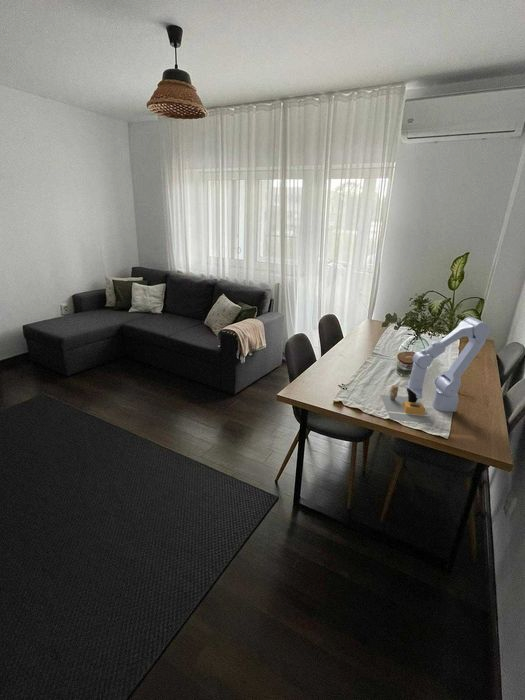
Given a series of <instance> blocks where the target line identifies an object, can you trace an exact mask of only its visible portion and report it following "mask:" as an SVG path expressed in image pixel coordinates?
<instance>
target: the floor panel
mask: <svg viewBox="0 0 525 700" xmlns="http://www.w3.org/2000/svg"><path fill="white" fill-rule="evenodd" d="M379 397H380V398H381V400H382V402H383V405H384V407H385V410H386V413H387V415H388V416H389V419H390V420H392V421H403V422H414V423H415V422H416V423H423V424H424V423H425V424H433V425H434V421H433V420H432V418H431V417H430V415H429V413H428V411H427V410H426V409H425V412H424V415H423V414H412V413H405V411H404V409H403V407H402V406H403V402H404V401H405V402H408V396H400V395H399V396H398V395H397V397H395V401H392V400H390V397H391V396H390V394H380V395H379ZM416 403H422V402H421V401H420V399H419V398H418V399H417V401H416Z"/></svg>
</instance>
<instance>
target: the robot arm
mask: <svg viewBox="0 0 525 700" xmlns="http://www.w3.org/2000/svg"><path fill="white" fill-rule="evenodd" d="M490 328H491V327H490V326H489V324H488V323H487V322H484V321H481V320H480V319H477V318H475V317H474V316H468V317H465V318H464V319H463V320H461V321H460V322H459V324H458V325H457V327H455V328H454V329H453V330H452V331H451V332H450V333H448V334H447V335H445V336H444V337H443V338H442V339H441V340H435V341H432V342H430V344H429V345H428V346H427V347H425V348H424V349H422V350H420V351H417V352H415V353H414V354H413V356H411V361H412V362H413V363H412V368H411V372H410V377H409V379H408V381H407V384H406V385H405V388H406V391H407V397H408V402H416V401H417V399H419V400H420V399H423V387H424V382H425V378H426V373H427V369H428V367H430V366H431V364H432V362H433V361H434V360H435V359H436V358H438V356H440V355H441V354H443V353H445V352H446V348H447V347H449V346H450V345H451V344H453V343H455V342H456V341H458V340H460V339H461V338H464V337H467V338H468V342H467V343H466V345H465V346H464V348H463V349H461V351H460V353H459V355H458V356H457V358H456V359H455V360H454V361H453V363H452V364H451V366H450V367H449V369H448V370H445V371H443V372H441V374H440V375H438V376H436V377H435V380H434V385H435V386H436V387H435V393H434V396H433V400H432V404H431V406H432V408H433V409H435V410H436V411H440V412H457V408H458V404H459V394H458V392H459V390H460V387H461V386H462V381H461V379H462V378H461V377H462V376H463V374H464V373H465V372H466V370H467V369H468V368H469V366H470V365H471V363H472V362H473V360H474V359H475V357H476V356H477V355H478V354H479V352H480V351H481V349H482V348H483V347H484V345H485V344H486V342H487V337H488V336H489V335H490V333H491V329H490Z"/></svg>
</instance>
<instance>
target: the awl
mask: <svg viewBox="0 0 525 700" xmlns="http://www.w3.org/2000/svg"><path fill="white" fill-rule="evenodd" d="M398 392H399V385H395V384H393V385H391V389H390V392H389V395H390V396H391V397H390V400H392V401H395V397H397V396H398Z"/></svg>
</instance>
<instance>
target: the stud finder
mask: <svg viewBox="0 0 525 700" xmlns="http://www.w3.org/2000/svg"><path fill="white" fill-rule="evenodd" d="M402 407H403V409H404V411H405V413H412V414H423V415H424V412H425V410H426V407H425V406H424V404H423V403H422V402H421V403H416V402H405V401H404V402H403V406H402Z"/></svg>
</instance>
